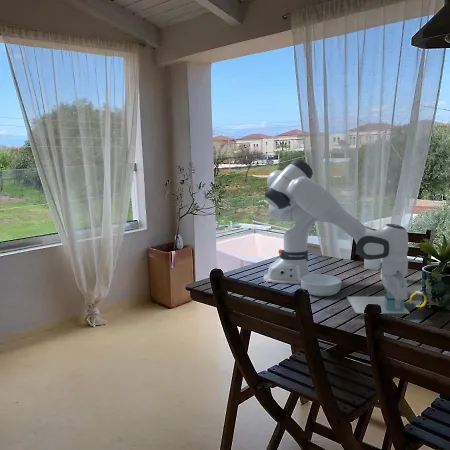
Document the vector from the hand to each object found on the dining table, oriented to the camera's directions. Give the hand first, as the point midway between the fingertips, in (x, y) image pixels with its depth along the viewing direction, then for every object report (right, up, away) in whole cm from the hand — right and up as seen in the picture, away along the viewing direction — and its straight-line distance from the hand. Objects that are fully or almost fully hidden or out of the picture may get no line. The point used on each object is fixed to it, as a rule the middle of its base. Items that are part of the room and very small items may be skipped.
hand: (393, 304), depth 162 cm
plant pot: (+8, 0, +22) cm, 23 cm away
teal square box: (0, -1, 0) cm, 2 cm away
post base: (-5, -2, +5) cm, 7 cm away
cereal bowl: (-22, 0, +23) cm, 32 cm away
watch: (+11, -2, +5) cm, 13 cm away
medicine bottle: (+14, +7, +64) cm, 66 cm away
